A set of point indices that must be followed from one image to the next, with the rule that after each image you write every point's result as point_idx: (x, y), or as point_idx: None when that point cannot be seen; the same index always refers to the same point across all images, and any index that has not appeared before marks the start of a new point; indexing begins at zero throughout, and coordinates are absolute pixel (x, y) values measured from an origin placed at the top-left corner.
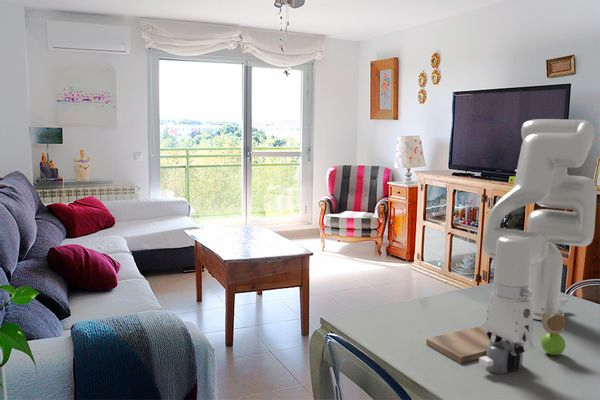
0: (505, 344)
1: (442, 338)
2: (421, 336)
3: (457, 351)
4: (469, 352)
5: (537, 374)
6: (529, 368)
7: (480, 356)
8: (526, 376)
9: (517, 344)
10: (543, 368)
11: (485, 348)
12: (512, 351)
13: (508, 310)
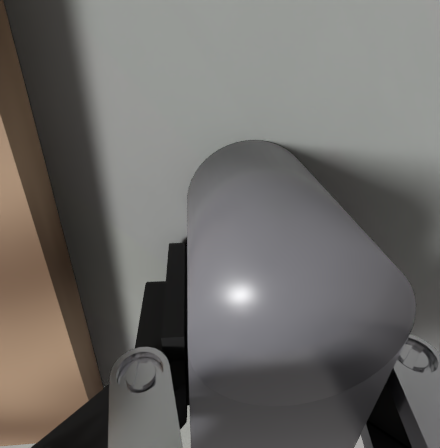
0: (273, 427)
1: None
2: None
3: (23, 423)
4: (53, 385)
5: (427, 165)
6: (350, 138)
7: (79, 312)
8: (386, 244)
9: (418, 436)
10: (430, 25)
11: (12, 274)
12: (377, 427)
13: None
